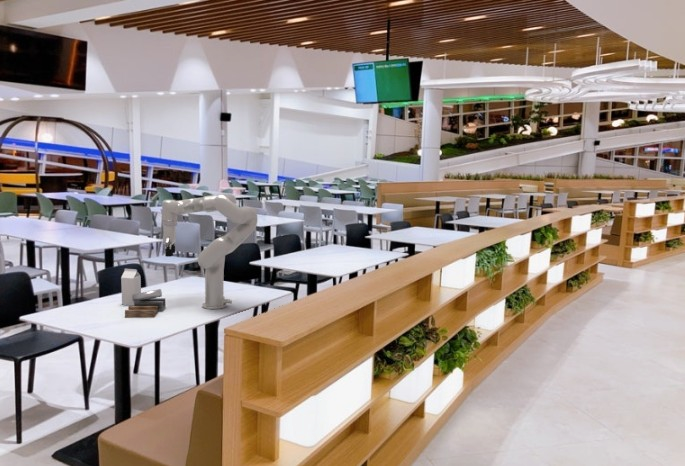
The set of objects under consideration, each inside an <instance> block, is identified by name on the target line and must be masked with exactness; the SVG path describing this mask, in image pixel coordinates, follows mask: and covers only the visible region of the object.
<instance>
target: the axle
mask: <svg viewBox="0 0 685 466" xmlns="http://www.w3.org/2000/svg"><path fill="white" fill-rule="evenodd" d="M162 296H163V292H162V289H161V288H158V289H153V290H148V291H143V292H141V293H138V294H133V295H132V299H133V302H135V301H143V300H148V299H152V298H162Z"/></svg>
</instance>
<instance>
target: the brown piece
mask: <svg viewBox="0 0 685 466" xmlns="http://www.w3.org/2000/svg"><path fill="white" fill-rule="evenodd" d="M127 307H128V308H127V309H125V310H124V318H155V317H156V316H157V315H158V313H159V312H158V306H129V305H128V306H127Z"/></svg>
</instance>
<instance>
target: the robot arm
mask: <svg viewBox="0 0 685 466" xmlns="http://www.w3.org/2000/svg"><path fill="white" fill-rule="evenodd" d="M161 210H162V211H161V213H162V217H161V218H162V221H161V223H162V227H163V238H162V239H163V240H162V241H163V242H162V244H163V245H164V246H165V248H164V253H165V254H164V255H165V257H167V258H168V257H169V258H170V257H171V258H172V255H173V254H176V242H177V241H176V239H177V238H176V235H177V233H176V227H177V226H178V215H179V216H182V215H183V216H184V215H188V214H192V213H198V212H199V213H200V212H206V213H213V212H219V213H220V214H221V215H223V216H224V217H225V218H227V219H228V220H229V221H230V222H232V223H233V224H235V226H234V227H233V228H232V229H230V231H228V233H226V234H224V235H221V236H220V237H218V238H216V239H214V240H213V241H211V242H210V243H209V244H208V245H207V246H206V247H205V248H204V249H203V250H202V251H200V253H199V254H198V256H197V264H198V266H199V267H200V268H202V269H204V271H205V273H204V276H205V277H204V284H205V285H204V290H205V291H204V293H205V294H204V295H205V296H204V297H205V299H204V300H205V301H204V302H203V303H202V308H203V309H207V310H220V309H223V308H226V307H227V304H232V303H233V300H232V299H230V298H227V299H226V297H225V296H224V293H225V292H224V277H225V275H224V271H225V270H224V269H225V261H226V256H227V255H229V254H231V253H233V252H234V251H235V250H236V249H237V248H238V247H239V246H240V245H241V244H242V243H244V241H245V240H247V238H248V237H250V235H252V233H253V232H254V231H255V229H256V227H257V225H258V214H257V211H256V210H255V208H254V207H252V206H247V205H245V206H241V207H240V206H238V205H237V198H236V195H233V194H232V193H220V194H213V195H204V196H203V197H195V198H189V199H187V198H186V199H181V200H176V199H164V200H163V201H161Z"/></svg>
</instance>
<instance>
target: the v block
mask: <svg viewBox="0 0 685 466" xmlns="http://www.w3.org/2000/svg"><path fill="white" fill-rule="evenodd" d="M134 306H158V313H164V310H165V309H166V308H167V307H166V297H165V298H162V297H157V298H152V299H148V300H143V301H135V302H134Z"/></svg>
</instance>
